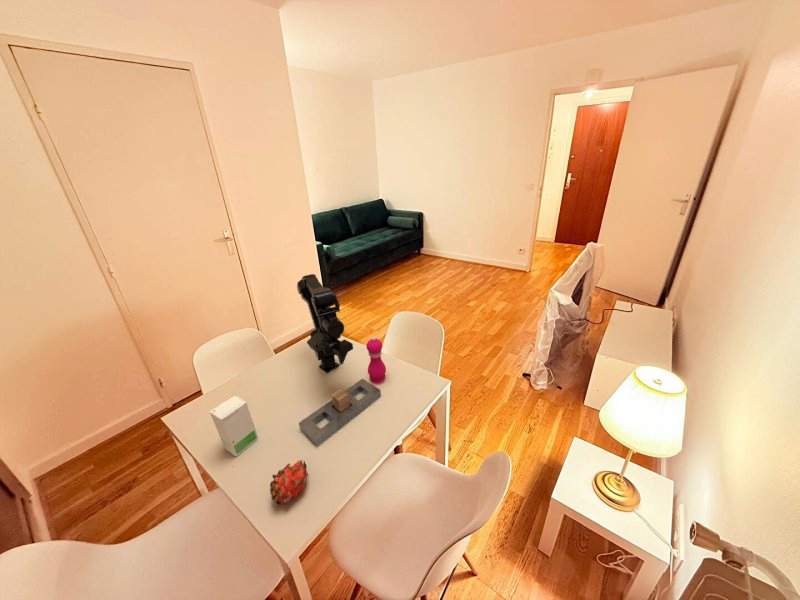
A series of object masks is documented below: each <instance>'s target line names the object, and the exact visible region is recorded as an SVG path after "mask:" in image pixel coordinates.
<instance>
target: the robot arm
mask: <svg viewBox="0 0 800 600" xmlns="http://www.w3.org/2000/svg"><path fill="white" fill-rule="evenodd" d="M296 289H297V292H298V294H299V295H300V297H301V299H302V300H303V301H304V302H305V303H306V304H307V306H308V310H309V314H310V316H311V320H312V323H313V327H314V330H312V331H311V333H310V334H309V336H310V338H309V339H308V340H307V341H306V344H307V345H308V347H309V348H310V349H311V350H312V351H314V355H315V357H316V359H317V360H318V362H319V361H320V364H319V365H318V368H319V369H320V370H322V371H323V372H324V373H326V374H328V373H330V372H332V371H333V370H334V369H336V368H338V367H339V366H340V365H343V364H344V362H345V360H346V357H347V355H348V353H349V352H351V351H352V350H353V349H354V345H353V343H352V342H350V341H349V340H347V339H343V340H340V338H342V334H343V333H344V330H345V324H344V323H343V322H342V321H341V319H340V318H339V317H338V316H337V313H340V311H341V309H340V307H341V305H340V302H339V299H338V296H337V295H336V293H335V292H334V291H332V290H331V289H330V288H329V287H324V286H323V285H322V284H321V282H320V281H319V279H318V277H317V275H316V274H313V273H310V274H307V275H306V274H305V275H304V276H302V277H301V279H300V280H299V281H297V284H296ZM335 356H337V358H338V361H339V363H338V362H336V357H335Z"/></svg>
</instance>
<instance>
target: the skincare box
mask: <svg viewBox="0 0 800 600" xmlns="http://www.w3.org/2000/svg"><path fill="white" fill-rule="evenodd" d="M209 414H210V416H211V418H212V421H213V423H214V426H215V428H216V430H217V432H218V435H219V437H220V438H219V439H220V441H221V442H222V446H223V448H224V449H225V450H226V451H228V452H229V453H230V454H232V455H233V456H234V457H238V456H239V455H240V454H241V453H242V452H244V451H245V450H246V449H248V448H249V447H250V446H251V445H253V444H254V443H255V442H256V441H257V440H259V436H258V433H257V430H256V427H255V424H254V422H253V418H252V416H251V415H252V414H251V412H250V409H249V406H248V403H247V401H245V400H243V399H242V398H240V397H238V396H236V395H233V396H232V397H231V398H229V399H227V400H226V401H223V402H221V403H220V404H219V405H218V406H216V407H214V408H213V409H211V410H210V411H209Z"/></svg>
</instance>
